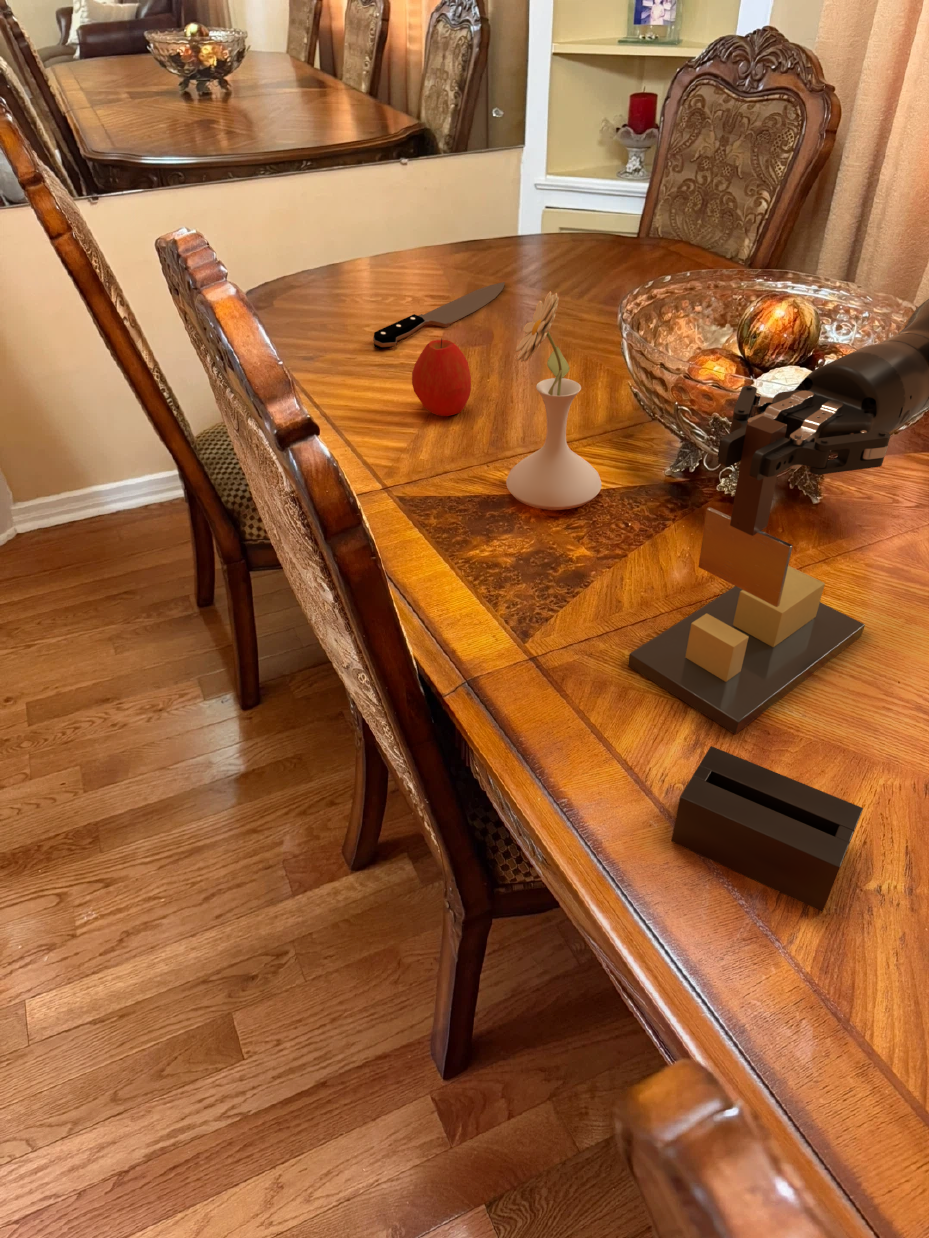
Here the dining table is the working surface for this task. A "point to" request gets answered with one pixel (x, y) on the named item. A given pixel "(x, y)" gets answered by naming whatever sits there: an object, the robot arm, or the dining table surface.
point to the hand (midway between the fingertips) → (739, 460)
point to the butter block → (780, 609)
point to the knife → (748, 527)
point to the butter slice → (716, 647)
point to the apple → (442, 378)
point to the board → (762, 668)
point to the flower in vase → (552, 431)
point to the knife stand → (765, 826)
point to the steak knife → (436, 316)
